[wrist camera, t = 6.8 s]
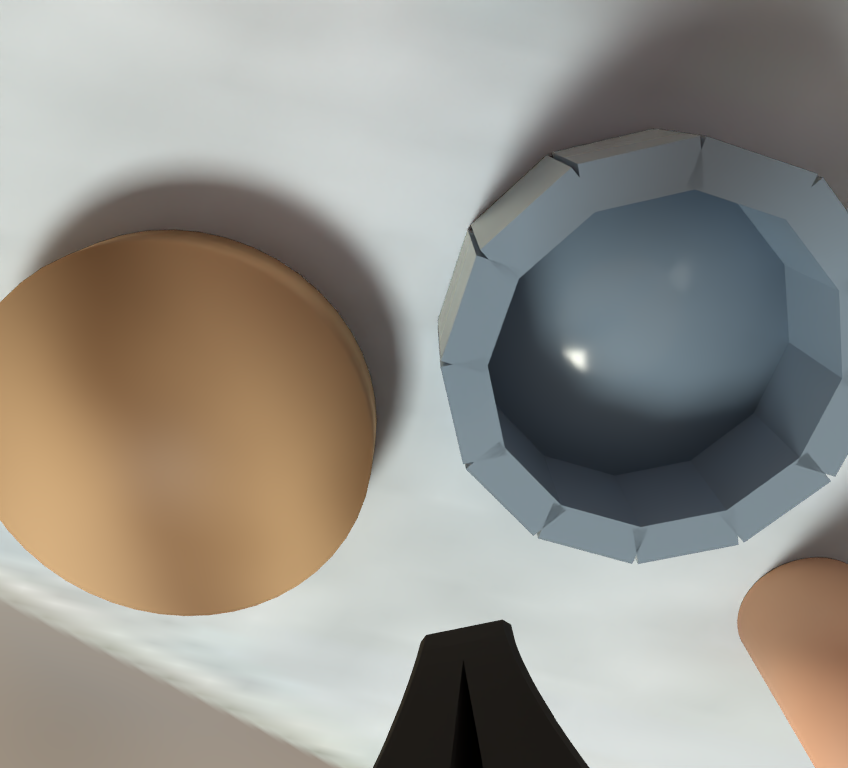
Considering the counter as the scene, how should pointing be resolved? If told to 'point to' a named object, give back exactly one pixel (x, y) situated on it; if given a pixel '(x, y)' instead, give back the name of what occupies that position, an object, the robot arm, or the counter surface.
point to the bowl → (651, 344)
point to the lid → (180, 423)
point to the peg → (804, 650)
